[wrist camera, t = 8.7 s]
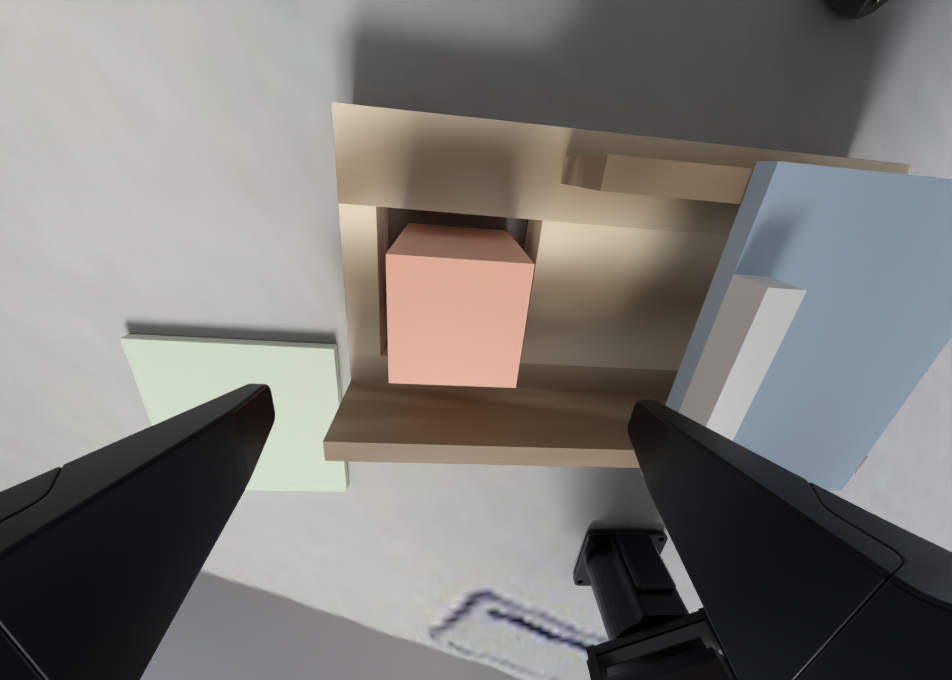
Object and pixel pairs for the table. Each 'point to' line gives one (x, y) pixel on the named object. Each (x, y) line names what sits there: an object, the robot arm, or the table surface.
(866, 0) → the battery charger
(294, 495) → the table surface
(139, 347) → the sage mat
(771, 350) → the cover
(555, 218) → the open storage box
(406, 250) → the block
